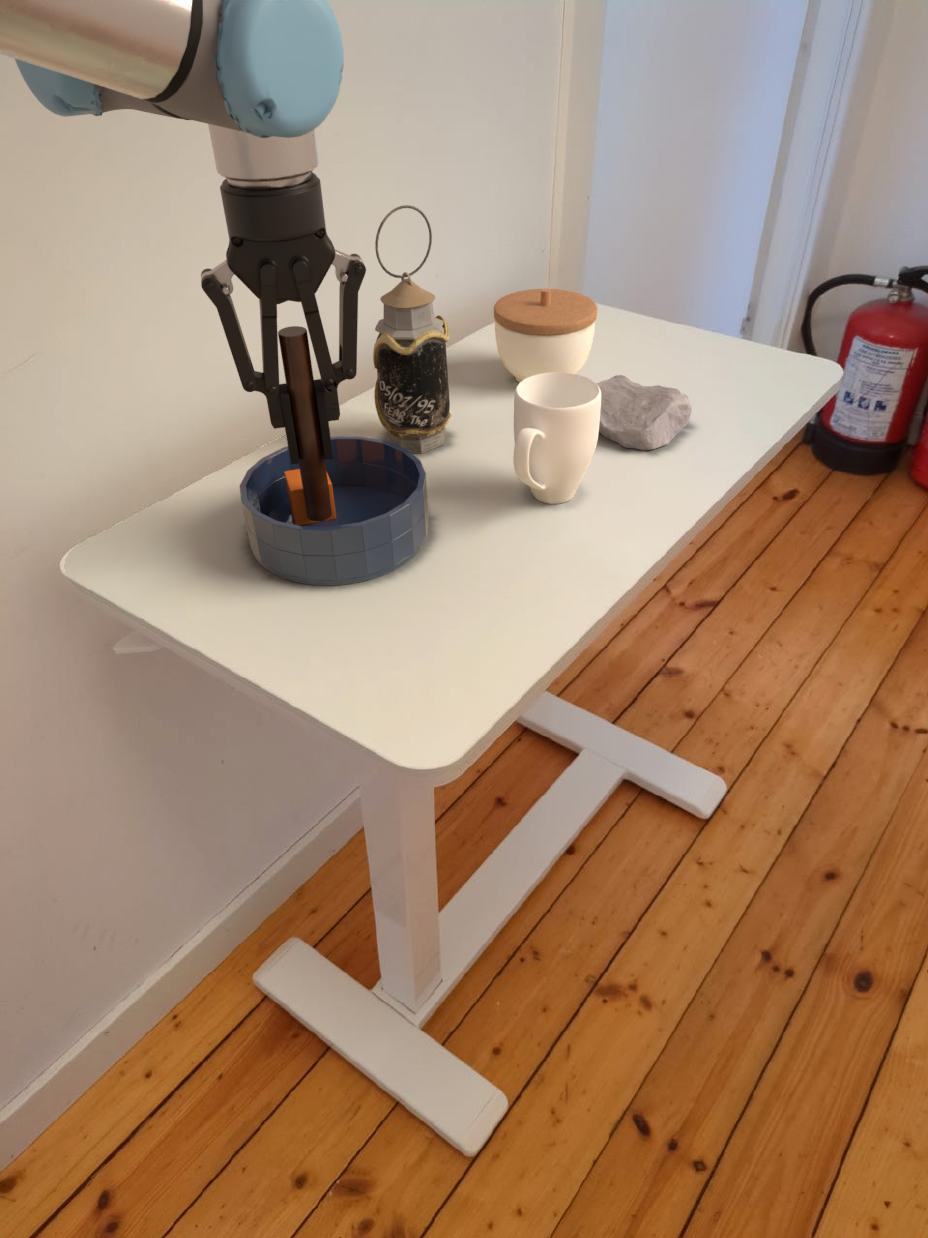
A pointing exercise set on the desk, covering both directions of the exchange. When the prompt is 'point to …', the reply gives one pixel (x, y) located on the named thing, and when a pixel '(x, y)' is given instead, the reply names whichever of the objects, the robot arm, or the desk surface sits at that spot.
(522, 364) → the lidded bowl
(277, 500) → the stir bowl
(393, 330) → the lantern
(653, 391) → the stone block
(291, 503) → the block
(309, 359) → the stick
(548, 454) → the mug
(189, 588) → the desk surface
